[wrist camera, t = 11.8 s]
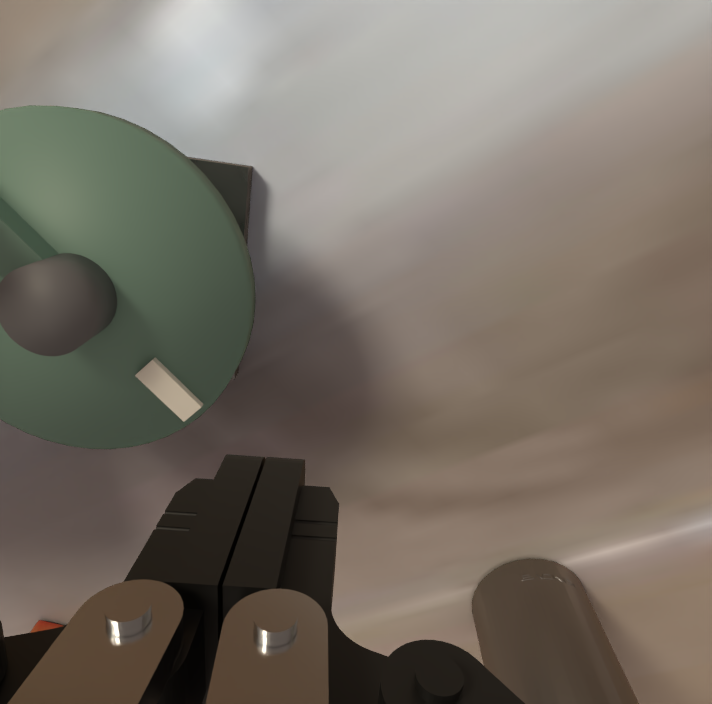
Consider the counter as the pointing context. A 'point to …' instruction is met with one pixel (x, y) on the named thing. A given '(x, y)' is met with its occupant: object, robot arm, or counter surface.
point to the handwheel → (113, 281)
